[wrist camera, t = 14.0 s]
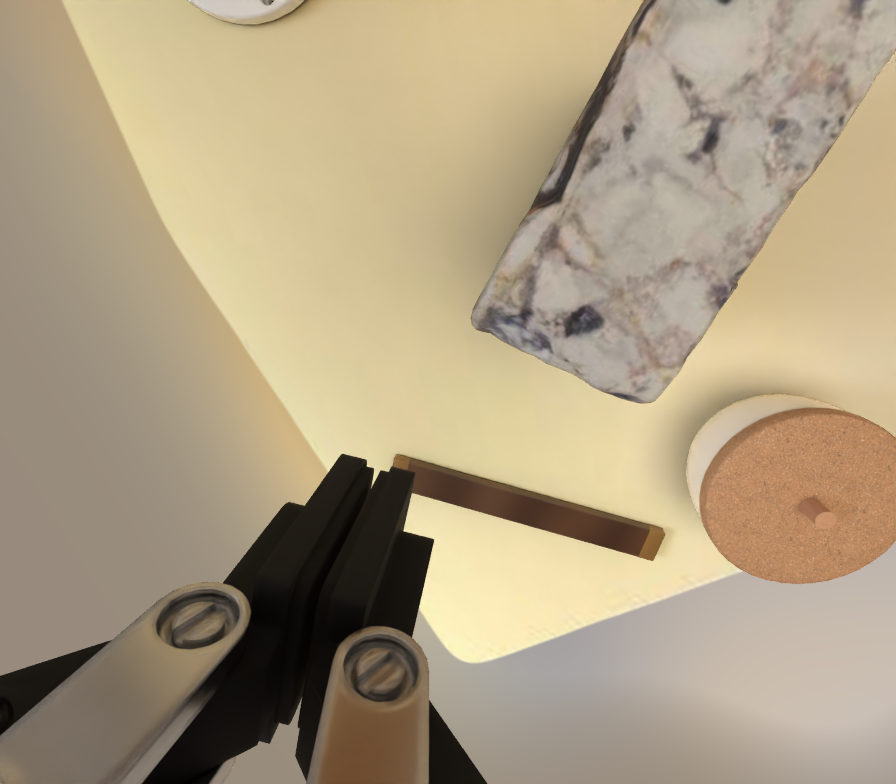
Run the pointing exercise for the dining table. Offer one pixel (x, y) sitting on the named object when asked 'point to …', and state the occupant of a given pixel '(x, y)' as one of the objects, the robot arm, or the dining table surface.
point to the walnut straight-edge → (533, 509)
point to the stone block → (678, 180)
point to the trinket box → (794, 488)
